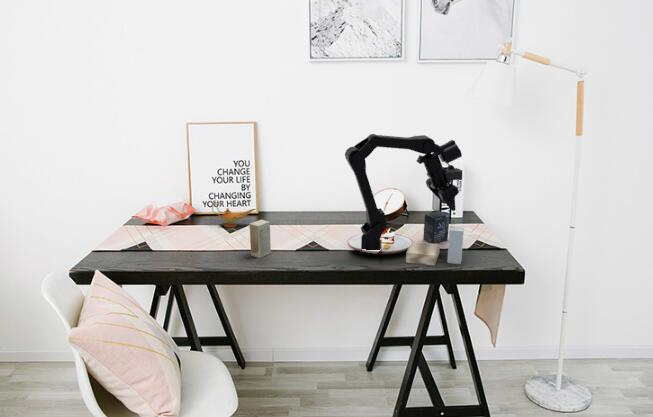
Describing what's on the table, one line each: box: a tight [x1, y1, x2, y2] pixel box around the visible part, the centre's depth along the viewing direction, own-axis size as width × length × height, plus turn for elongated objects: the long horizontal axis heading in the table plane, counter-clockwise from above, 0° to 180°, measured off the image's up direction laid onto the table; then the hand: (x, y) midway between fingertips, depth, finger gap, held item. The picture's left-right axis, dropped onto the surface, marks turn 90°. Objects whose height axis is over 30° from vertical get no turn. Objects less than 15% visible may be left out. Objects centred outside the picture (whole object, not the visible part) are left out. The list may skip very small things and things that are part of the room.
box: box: [422, 210, 450, 244], centre depth 235 cm, size 8×6×11 cm
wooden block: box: [405, 240, 441, 266], centre depth 219 cm, size 10×12×4 cm
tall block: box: [446, 225, 465, 265], centre depth 214 cm, size 4×4×12 cm
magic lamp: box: [211, 199, 257, 228], centre depth 252 cm, size 7×18×11 cm, turn 94°
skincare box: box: [249, 219, 272, 259], centre depth 220 cm, size 6×4×12 cm
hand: (449, 206), depth 224 cm, fingers open, 9 cm apart
